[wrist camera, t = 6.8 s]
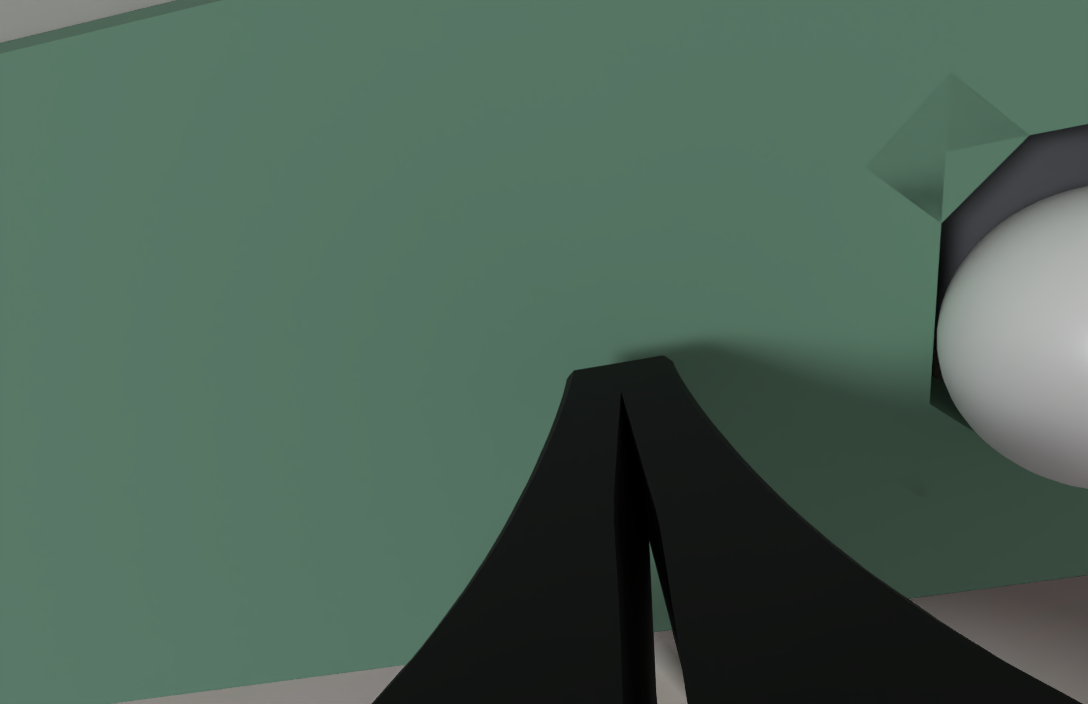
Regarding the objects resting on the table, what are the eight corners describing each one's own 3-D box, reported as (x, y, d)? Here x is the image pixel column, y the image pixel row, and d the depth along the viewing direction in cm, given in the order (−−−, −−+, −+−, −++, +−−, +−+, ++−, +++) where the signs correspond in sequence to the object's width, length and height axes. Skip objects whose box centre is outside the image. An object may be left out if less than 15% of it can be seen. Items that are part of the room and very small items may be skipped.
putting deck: (1330, 473, 15) (1403, 533, 13) (20, 658, 18) (-19, 720, 17) (1698, -369, 8) (1903, -406, 7) (-444, 150, 12) (-565, 190, 10)
